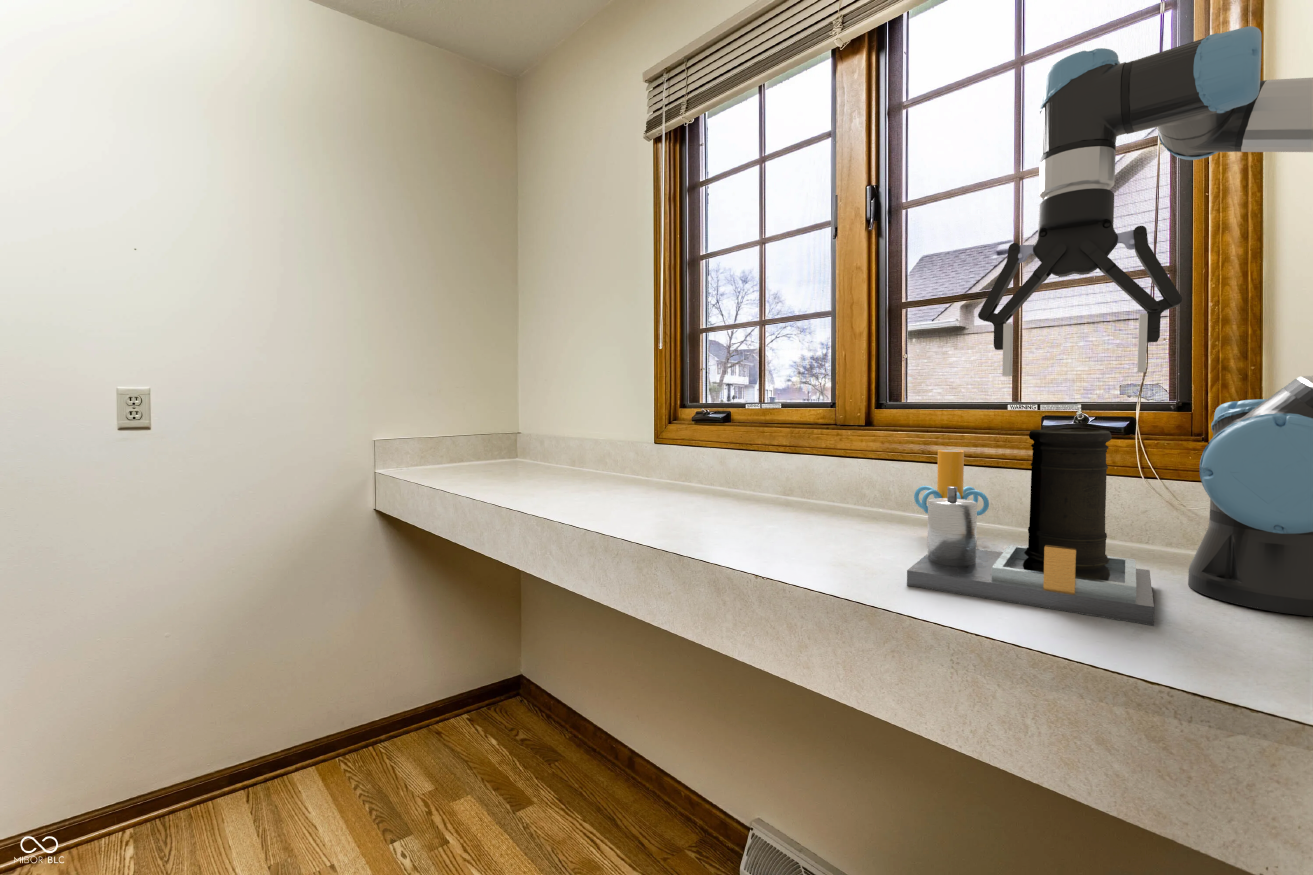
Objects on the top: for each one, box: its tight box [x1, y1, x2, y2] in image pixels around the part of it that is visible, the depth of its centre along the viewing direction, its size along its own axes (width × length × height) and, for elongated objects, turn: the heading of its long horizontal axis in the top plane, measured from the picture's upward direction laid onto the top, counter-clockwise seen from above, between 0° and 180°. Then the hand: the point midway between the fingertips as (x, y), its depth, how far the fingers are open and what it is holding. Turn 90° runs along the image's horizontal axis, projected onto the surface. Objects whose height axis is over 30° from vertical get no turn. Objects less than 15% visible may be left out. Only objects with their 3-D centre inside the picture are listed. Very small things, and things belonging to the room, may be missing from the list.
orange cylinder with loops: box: [913, 449, 990, 517], centre depth 107 cm, size 12×10×15 cm
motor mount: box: [906, 487, 1155, 626], centre depth 80 cm, size 25×17×12 cm
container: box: [1023, 428, 1112, 581], centre depth 78 cm, size 9×9×18 cm
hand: (1070, 374), depth 77 cm, fingers open, 13 cm apart
